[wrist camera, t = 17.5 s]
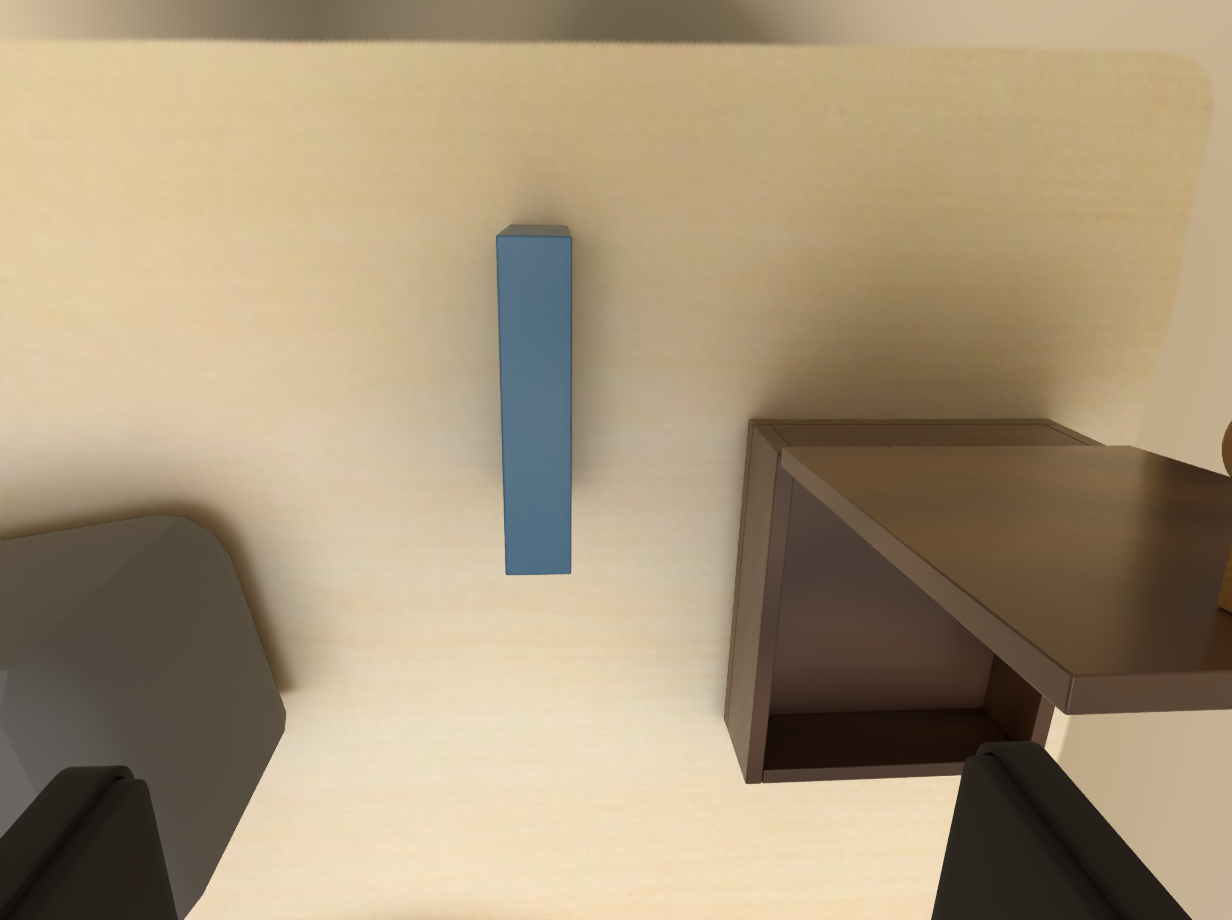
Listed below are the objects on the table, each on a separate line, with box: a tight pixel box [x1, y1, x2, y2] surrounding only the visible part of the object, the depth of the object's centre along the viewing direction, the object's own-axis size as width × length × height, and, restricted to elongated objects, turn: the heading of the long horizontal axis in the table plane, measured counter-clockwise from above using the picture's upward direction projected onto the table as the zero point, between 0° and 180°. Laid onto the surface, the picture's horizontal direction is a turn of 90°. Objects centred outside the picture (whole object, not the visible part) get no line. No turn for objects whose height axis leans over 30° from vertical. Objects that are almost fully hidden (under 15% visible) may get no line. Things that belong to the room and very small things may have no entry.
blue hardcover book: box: [496, 225, 572, 575], centre depth 30 cm, size 12×2×8 cm, turn 179°
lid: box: [781, 422, 1232, 715], centre depth 22 cm, size 17×15×5 cm
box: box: [724, 419, 1106, 784], centre depth 36 cm, size 17×15×5 cm
